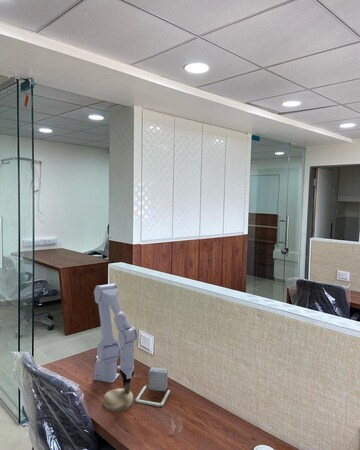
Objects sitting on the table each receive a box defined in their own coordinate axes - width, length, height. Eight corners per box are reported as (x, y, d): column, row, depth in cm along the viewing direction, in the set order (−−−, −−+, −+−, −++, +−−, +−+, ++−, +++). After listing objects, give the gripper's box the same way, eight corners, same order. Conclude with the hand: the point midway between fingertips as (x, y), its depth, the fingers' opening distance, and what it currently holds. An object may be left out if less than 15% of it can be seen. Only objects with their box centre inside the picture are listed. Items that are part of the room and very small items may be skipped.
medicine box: (167, 386, 162) (167, 368, 162) (165, 391, 158) (166, 373, 157) (150, 385, 163) (150, 366, 162) (148, 390, 159) (148, 371, 158)
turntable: (115, 413, 140) (115, 398, 140) (98, 400, 149) (98, 386, 148) (138, 401, 149) (139, 387, 149) (121, 389, 157) (121, 376, 157)
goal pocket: (134, 402, 149) (134, 400, 149) (144, 387, 161) (144, 385, 161) (162, 407, 147) (162, 405, 146) (170, 391, 158) (170, 389, 158)
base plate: (98, 407, 144) (98, 407, 144) (111, 391, 156) (111, 391, 156) (126, 413, 141) (126, 412, 141) (137, 396, 153) (137, 396, 153)
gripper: (115, 349, 159) (115, 379, 161) (119, 364, 146) (119, 396, 147) (131, 348, 161) (131, 377, 163) (136, 363, 148) (136, 394, 149)
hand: (126, 386), depth 155 cm, fingers closed
